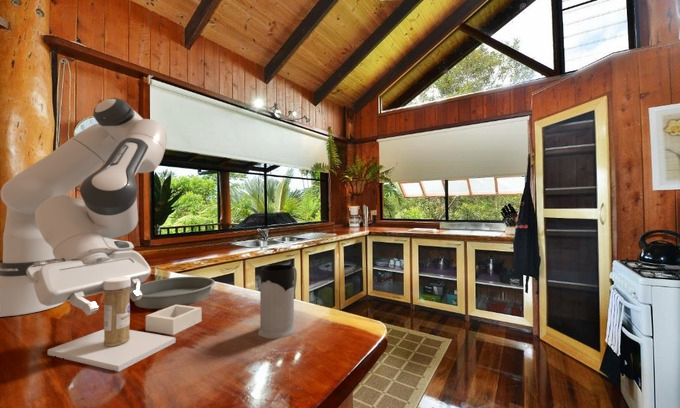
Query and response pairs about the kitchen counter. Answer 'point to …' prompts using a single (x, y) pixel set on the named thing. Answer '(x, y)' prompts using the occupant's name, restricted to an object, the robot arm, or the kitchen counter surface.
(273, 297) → the grey ceramic mug
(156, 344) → the white board
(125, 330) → the sprinkles bottle
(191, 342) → the kitchen counter surface
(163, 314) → the stand
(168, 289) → the cake pan
